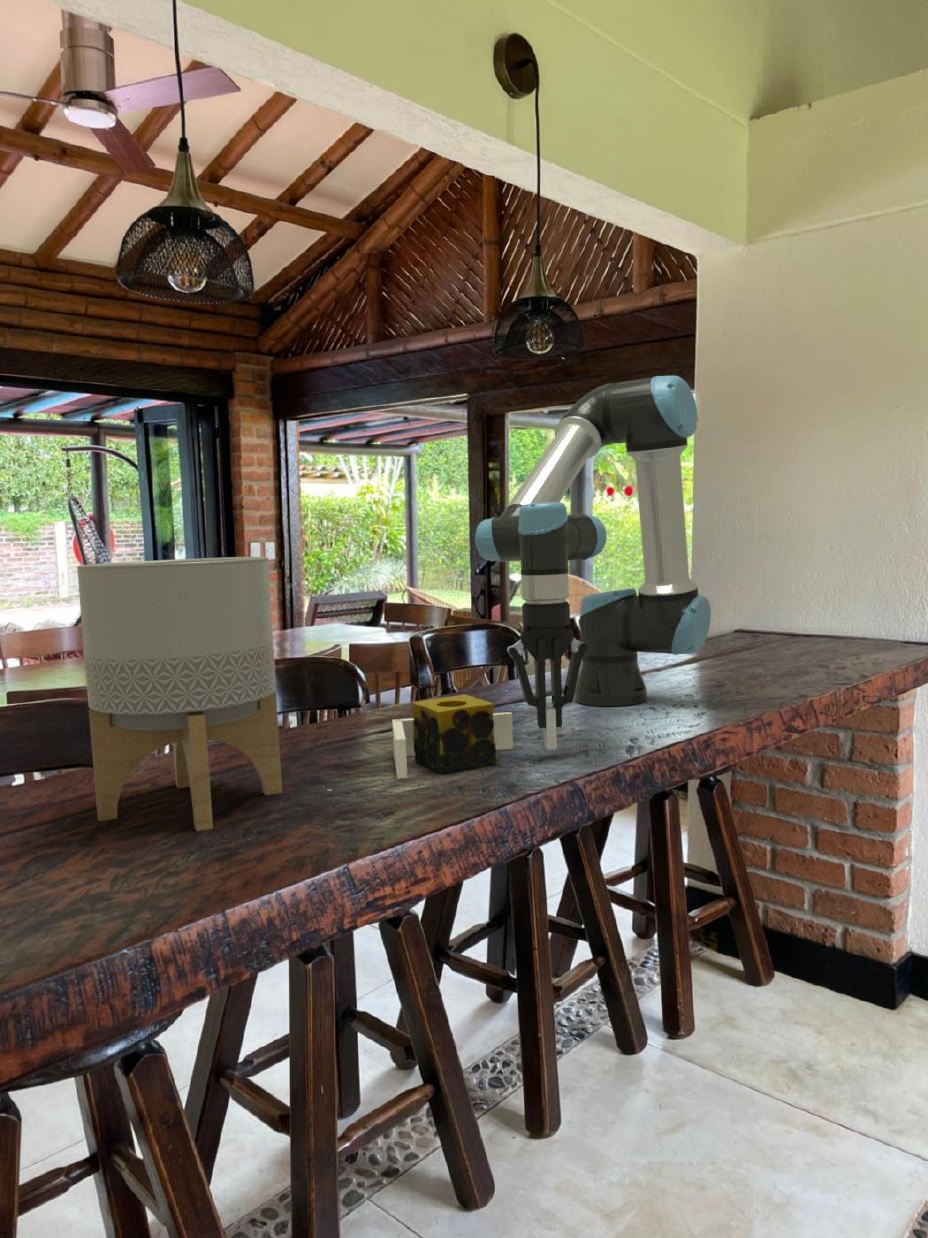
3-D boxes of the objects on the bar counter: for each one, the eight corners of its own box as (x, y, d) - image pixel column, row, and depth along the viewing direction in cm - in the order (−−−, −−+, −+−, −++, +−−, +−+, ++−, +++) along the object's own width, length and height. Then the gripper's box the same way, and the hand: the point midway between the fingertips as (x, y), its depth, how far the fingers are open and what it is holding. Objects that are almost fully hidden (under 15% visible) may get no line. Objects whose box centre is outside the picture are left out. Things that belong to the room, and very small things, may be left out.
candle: (467, 752, 150) (465, 693, 149) (498, 765, 142) (496, 702, 141) (412, 762, 146) (409, 701, 145) (441, 775, 137) (438, 711, 136)
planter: (100, 847, 110) (77, 567, 107) (95, 796, 133) (76, 564, 130) (300, 814, 120) (285, 557, 117) (264, 772, 143) (250, 555, 139)
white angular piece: (511, 746, 153) (510, 712, 152) (528, 769, 138) (526, 731, 137) (393, 754, 150) (392, 719, 150) (397, 778, 136) (395, 739, 135)
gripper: (580, 597, 146) (584, 739, 149) (501, 601, 145) (506, 744, 147) (591, 600, 139) (596, 750, 141) (508, 605, 137) (514, 756, 140)
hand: (550, 747), depth 144 cm, fingers closed
